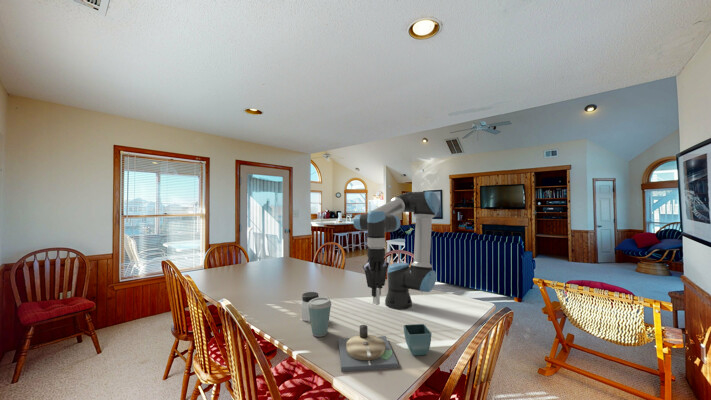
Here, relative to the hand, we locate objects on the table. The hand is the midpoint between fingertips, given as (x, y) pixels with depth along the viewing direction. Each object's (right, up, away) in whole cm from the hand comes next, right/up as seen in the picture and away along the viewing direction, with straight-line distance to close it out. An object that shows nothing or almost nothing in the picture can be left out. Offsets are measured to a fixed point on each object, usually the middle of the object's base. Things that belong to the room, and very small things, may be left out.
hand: (376, 303), depth 115 cm
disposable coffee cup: (-25, -16, +7) cm, 30 cm away
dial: (-5, -14, -11) cm, 18 cm away
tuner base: (-5, -16, -10) cm, 19 cm away
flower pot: (+15, -16, -9) cm, 24 cm away
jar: (-31, -16, +23) cm, 42 cm away
